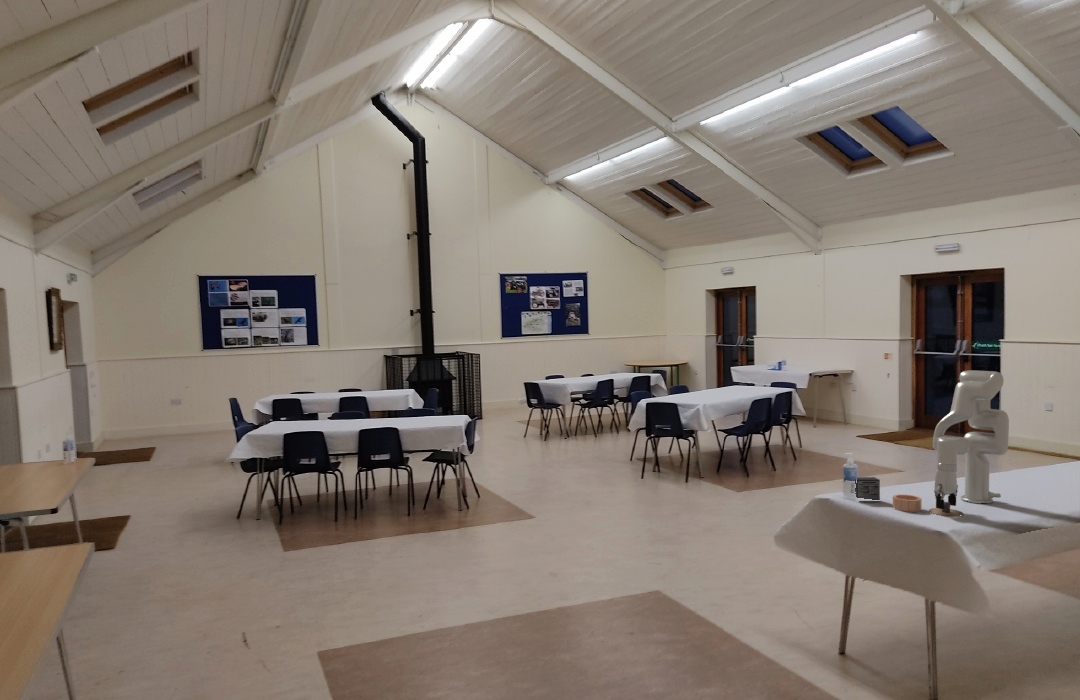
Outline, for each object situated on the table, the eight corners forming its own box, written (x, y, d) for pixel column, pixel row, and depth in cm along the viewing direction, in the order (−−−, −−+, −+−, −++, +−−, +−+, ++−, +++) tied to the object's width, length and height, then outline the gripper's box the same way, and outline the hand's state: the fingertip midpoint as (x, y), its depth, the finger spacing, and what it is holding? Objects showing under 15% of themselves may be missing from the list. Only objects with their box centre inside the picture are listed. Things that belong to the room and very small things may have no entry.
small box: (874, 498, 342) (874, 476, 341) (880, 502, 335) (880, 479, 335) (851, 498, 342) (851, 476, 342) (856, 502, 336) (857, 479, 335)
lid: (955, 510, 322) (955, 499, 322) (969, 517, 309) (969, 506, 309) (923, 509, 323) (924, 498, 323) (936, 517, 311) (936, 506, 310)
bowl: (915, 505, 328) (915, 494, 328) (925, 512, 317) (925, 500, 317) (889, 505, 329) (889, 494, 329) (898, 511, 318) (898, 500, 318)
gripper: (948, 463, 323) (947, 502, 324) (927, 468, 314) (926, 507, 315) (966, 466, 317) (965, 505, 318) (944, 471, 308) (944, 511, 308)
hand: (946, 506), depth 316 cm, fingers open, 9 cm apart
